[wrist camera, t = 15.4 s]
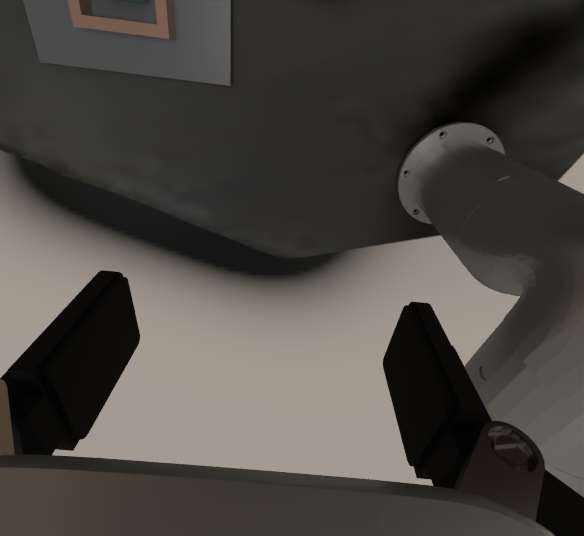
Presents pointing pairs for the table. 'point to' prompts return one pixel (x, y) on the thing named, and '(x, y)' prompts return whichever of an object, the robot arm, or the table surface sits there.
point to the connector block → (138, 0)
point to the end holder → (137, 36)
